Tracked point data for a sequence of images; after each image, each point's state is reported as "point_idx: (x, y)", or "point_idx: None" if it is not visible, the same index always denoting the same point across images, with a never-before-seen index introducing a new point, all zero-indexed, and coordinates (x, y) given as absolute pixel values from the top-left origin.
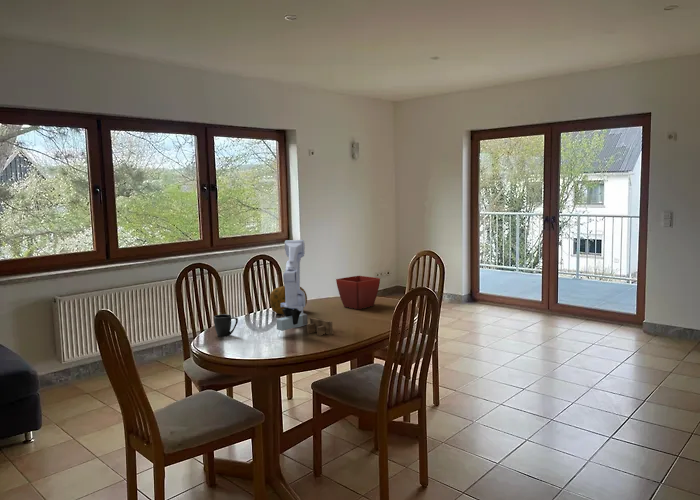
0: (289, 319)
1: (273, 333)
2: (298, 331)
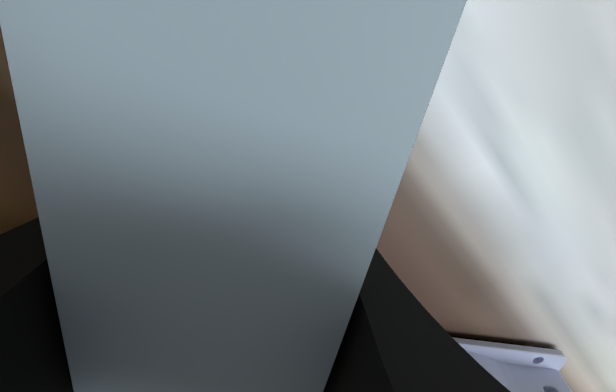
0: (50, 128)
1: (542, 17)
2: None
